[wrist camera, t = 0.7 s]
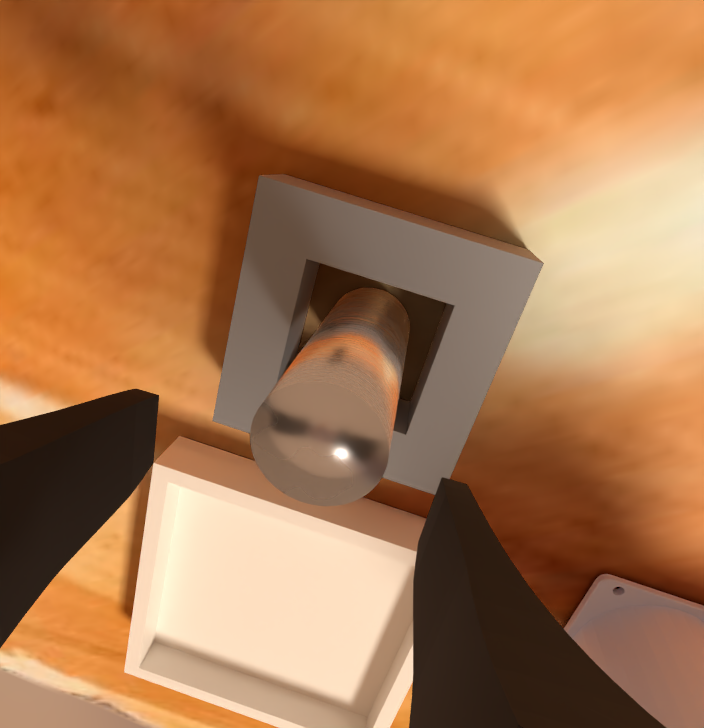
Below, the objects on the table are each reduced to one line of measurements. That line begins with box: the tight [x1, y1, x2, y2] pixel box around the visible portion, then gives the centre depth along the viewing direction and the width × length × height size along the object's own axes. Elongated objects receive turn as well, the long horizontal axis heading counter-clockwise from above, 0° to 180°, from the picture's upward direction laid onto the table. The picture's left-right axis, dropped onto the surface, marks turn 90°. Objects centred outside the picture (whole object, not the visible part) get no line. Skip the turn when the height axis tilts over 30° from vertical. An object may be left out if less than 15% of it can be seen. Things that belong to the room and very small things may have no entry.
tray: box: [124, 436, 426, 728], centre depth 27 cm, size 15×15×2 cm
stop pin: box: [250, 287, 410, 506], centre depth 17 cm, size 4×4×10 cm
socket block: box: [213, 174, 544, 495], centre depth 20 cm, size 10×10×3 cm
